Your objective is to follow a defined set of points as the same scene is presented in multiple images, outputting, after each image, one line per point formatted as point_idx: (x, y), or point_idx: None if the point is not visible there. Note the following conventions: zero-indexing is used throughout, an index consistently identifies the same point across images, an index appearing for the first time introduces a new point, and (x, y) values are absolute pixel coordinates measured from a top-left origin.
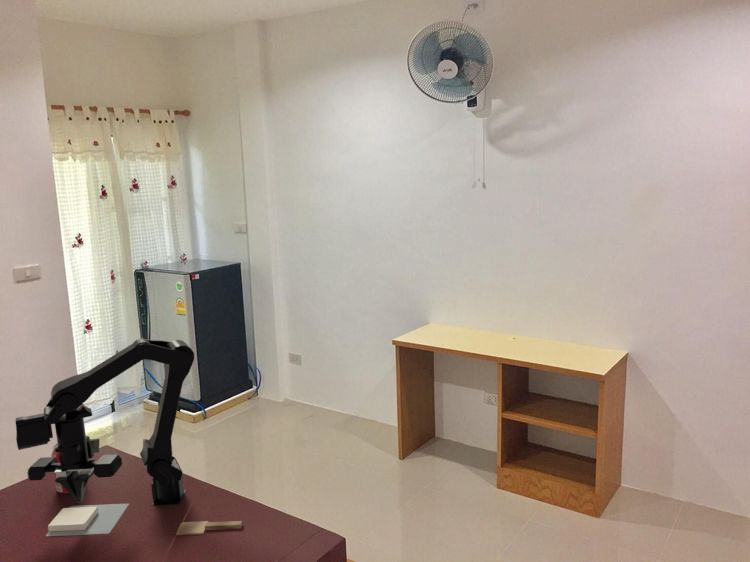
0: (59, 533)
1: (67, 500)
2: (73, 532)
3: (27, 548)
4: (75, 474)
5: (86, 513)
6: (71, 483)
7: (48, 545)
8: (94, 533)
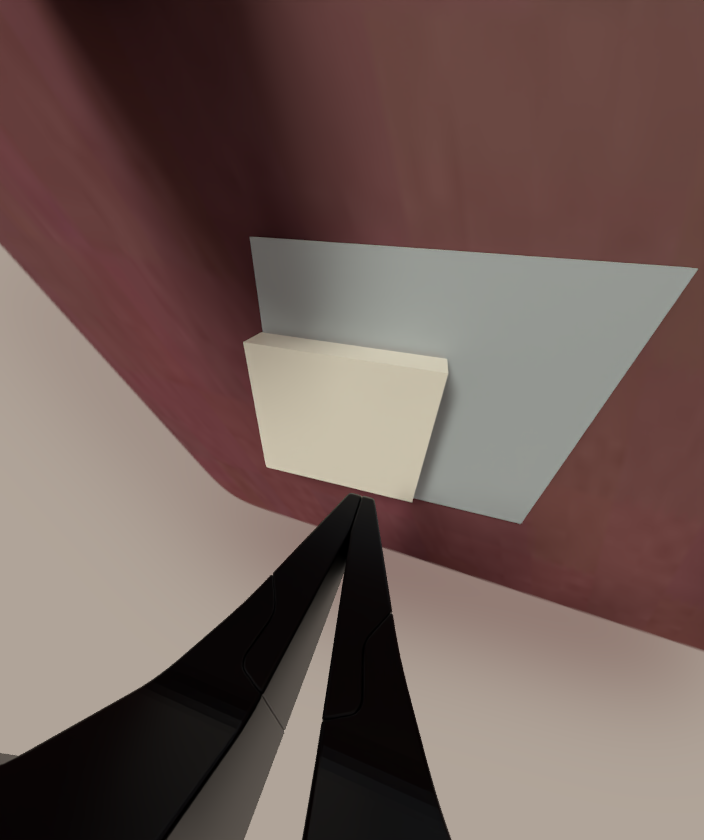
0: None
1: (173, 109)
2: None
3: (263, 490)
4: (207, 832)
5: (396, 427)
6: (270, 753)
7: (315, 497)
8: (457, 506)
